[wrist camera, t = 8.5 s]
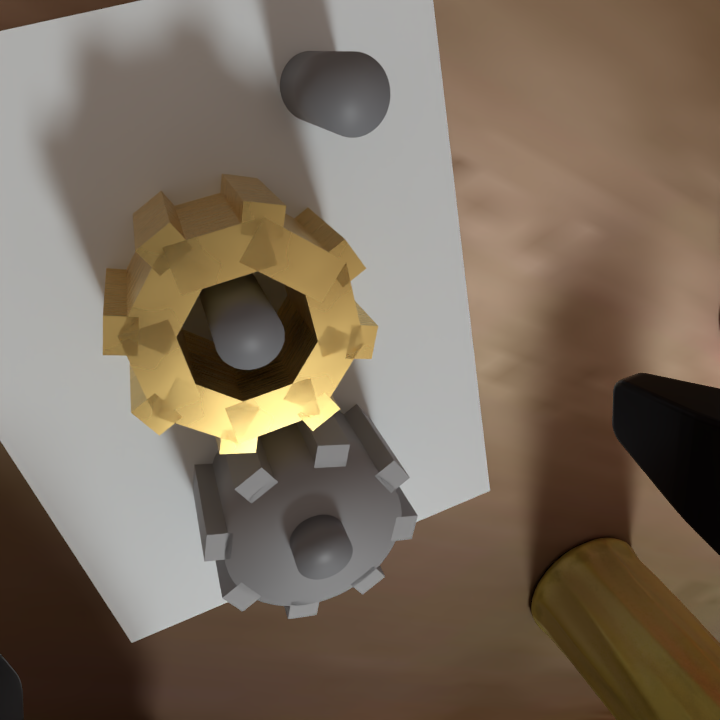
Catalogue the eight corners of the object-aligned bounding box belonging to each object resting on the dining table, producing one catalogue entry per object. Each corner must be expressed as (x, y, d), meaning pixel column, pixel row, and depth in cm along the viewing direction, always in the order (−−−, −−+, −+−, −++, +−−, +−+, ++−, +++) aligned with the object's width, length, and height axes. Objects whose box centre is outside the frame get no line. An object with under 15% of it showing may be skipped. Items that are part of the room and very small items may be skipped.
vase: (516, 580, 29) (799, 962, 17) (623, 514, 29) (970, 838, 17) (543, 644, 32) (795, 1002, 20) (638, 584, 32) (939, 897, 20)
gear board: (131, 615, 22) (133, 757, 17) (-205, 79, 13) (-378, 96, 8) (475, 472, 24) (551, 564, 20) (405, -56, 15) (519, -97, 11)
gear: (159, 418, 17) (167, 486, 15) (67, 217, 14) (54, 256, 12) (354, 349, 19) (393, 400, 16) (307, 149, 15) (345, 171, 13)
